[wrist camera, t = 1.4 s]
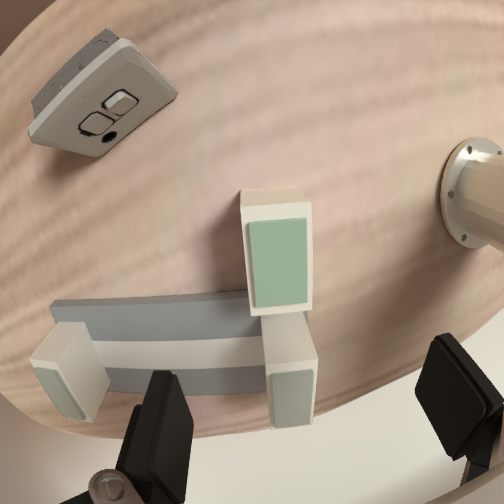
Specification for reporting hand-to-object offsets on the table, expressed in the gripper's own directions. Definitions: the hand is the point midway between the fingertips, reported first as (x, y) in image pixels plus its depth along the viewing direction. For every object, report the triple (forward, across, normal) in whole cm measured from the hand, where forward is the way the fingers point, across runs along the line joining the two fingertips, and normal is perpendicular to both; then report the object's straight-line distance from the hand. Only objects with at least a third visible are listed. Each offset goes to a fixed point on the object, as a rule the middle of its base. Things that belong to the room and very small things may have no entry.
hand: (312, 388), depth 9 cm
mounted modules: (+17, +11, +12) cm, 23 cm away
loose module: (+18, 0, 0) cm, 18 cm away
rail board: (+18, +11, +12) cm, 24 cm away
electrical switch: (+18, +12, -13) cm, 25 cm away
